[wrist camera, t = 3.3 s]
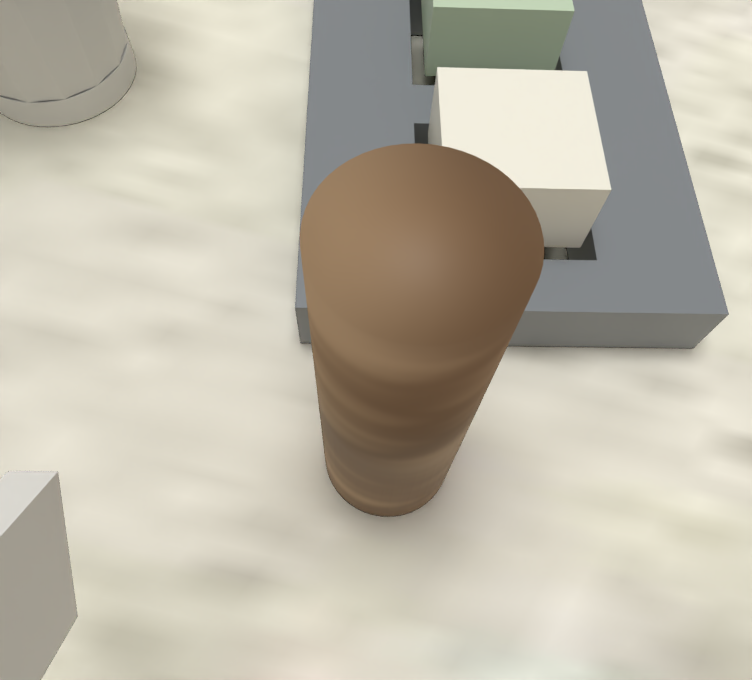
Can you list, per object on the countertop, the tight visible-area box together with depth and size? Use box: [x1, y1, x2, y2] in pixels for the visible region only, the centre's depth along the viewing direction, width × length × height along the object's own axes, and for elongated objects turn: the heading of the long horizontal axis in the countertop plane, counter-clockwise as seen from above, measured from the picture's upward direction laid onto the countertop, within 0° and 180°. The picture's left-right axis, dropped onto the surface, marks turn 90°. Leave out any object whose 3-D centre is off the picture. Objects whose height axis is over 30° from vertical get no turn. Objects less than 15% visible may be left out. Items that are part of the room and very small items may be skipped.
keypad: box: [295, 0, 729, 348], centre depth 28 cm, size 14×26×2 cm, turn 0°
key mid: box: [421, 0, 574, 76], centre depth 26 cm, size 5×5×3 cm
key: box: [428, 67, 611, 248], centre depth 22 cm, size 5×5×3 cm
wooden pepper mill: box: [300, 143, 544, 517], centre depth 16 cm, size 4×4×12 cm
